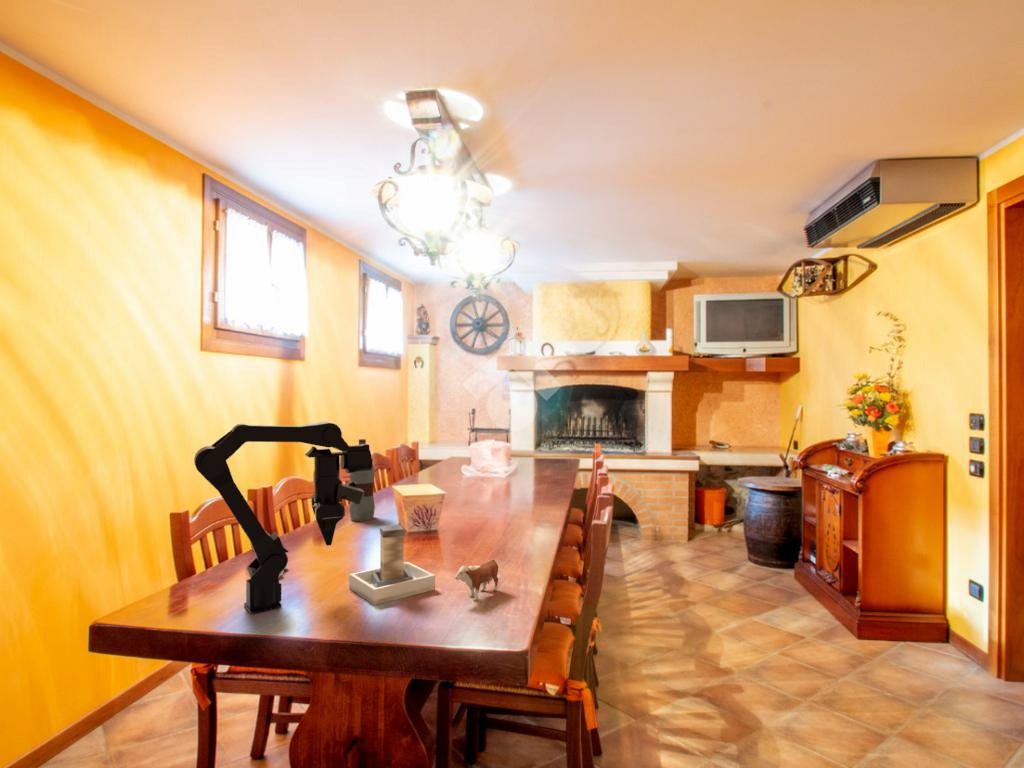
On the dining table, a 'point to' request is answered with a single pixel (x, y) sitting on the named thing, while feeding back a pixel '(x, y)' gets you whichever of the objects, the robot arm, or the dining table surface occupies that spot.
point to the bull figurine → (478, 576)
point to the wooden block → (391, 552)
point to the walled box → (391, 584)
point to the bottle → (365, 483)
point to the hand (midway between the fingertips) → (327, 540)
